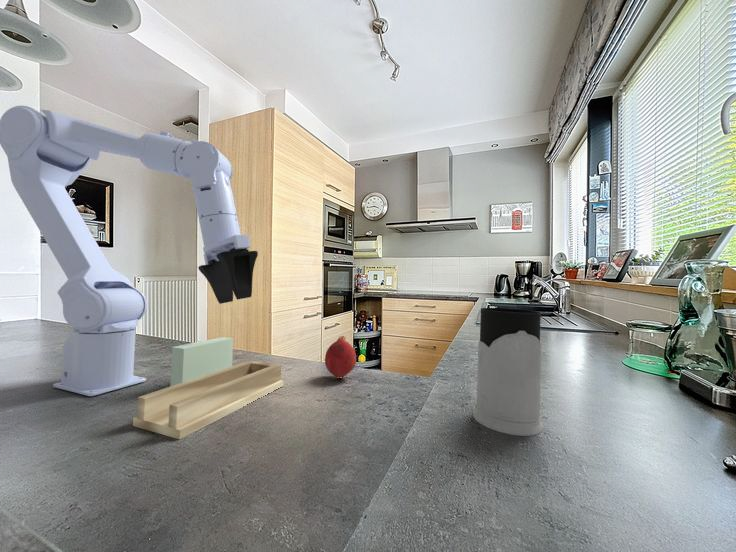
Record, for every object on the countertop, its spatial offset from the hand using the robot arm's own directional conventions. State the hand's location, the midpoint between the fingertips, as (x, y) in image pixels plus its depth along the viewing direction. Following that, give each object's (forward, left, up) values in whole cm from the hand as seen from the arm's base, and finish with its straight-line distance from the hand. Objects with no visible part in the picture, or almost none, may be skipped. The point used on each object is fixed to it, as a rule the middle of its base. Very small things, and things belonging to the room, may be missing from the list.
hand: (234, 300), depth 50 cm
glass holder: (+41, +10, -14) cm, 44 cm away
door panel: (-6, 0, -14) cm, 16 cm away
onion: (+14, +13, -14) cm, 23 cm away
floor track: (+3, -5, -14) cm, 15 cm away
